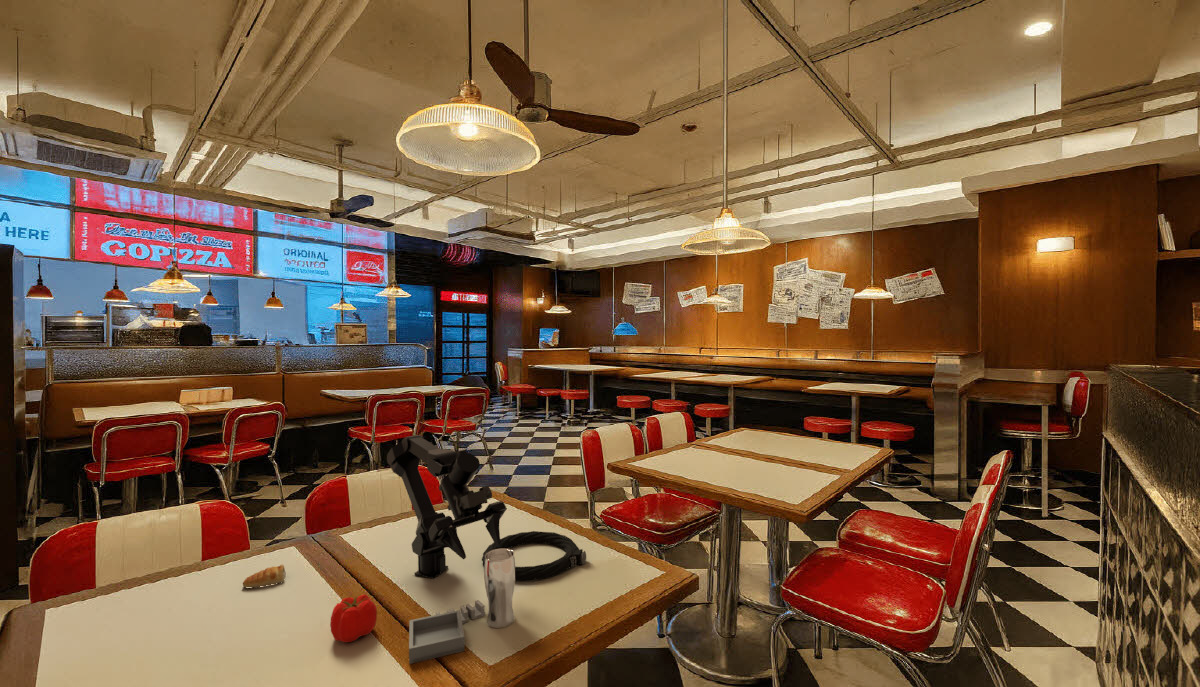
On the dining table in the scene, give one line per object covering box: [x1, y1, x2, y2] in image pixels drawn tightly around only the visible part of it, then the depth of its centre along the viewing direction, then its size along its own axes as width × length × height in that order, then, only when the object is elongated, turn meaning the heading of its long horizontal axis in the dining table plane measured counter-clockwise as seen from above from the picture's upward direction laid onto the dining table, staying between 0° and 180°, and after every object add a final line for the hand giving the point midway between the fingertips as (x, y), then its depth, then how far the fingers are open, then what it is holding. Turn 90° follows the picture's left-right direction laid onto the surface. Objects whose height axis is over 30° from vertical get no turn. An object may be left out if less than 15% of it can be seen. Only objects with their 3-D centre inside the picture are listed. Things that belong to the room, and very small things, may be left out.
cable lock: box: [481, 530, 587, 582], centre depth 140 cm, size 28×4×30 cm
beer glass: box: [483, 548, 516, 629], centre depth 110 cm, size 7×7×15 cm
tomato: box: [330, 594, 378, 643], centre depth 105 cm, size 9×9×8 cm
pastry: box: [242, 564, 287, 588], centre depth 129 cm, size 9×7×4 cm
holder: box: [408, 609, 465, 665], centre depth 102 cm, size 10×10×3 cm
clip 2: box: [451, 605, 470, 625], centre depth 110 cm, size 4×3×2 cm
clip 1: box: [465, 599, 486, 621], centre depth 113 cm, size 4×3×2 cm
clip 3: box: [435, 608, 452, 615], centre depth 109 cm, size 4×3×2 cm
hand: (482, 551), depth 115 cm, fingers open, 9 cm apart
